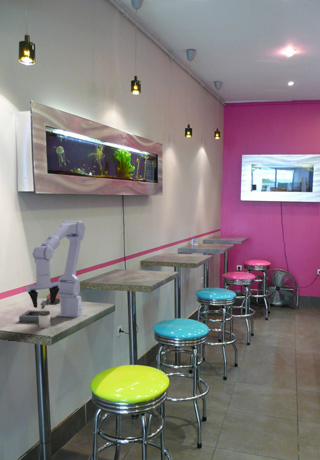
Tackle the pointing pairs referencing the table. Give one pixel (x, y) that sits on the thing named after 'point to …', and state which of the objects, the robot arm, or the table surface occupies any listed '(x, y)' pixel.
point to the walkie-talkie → (47, 300)
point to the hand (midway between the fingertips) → (44, 305)
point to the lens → (44, 319)
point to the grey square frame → (30, 316)
